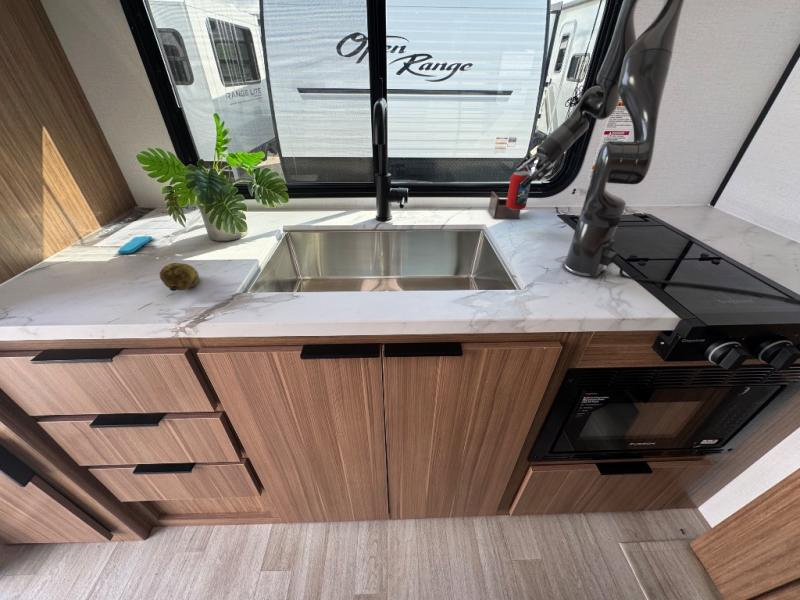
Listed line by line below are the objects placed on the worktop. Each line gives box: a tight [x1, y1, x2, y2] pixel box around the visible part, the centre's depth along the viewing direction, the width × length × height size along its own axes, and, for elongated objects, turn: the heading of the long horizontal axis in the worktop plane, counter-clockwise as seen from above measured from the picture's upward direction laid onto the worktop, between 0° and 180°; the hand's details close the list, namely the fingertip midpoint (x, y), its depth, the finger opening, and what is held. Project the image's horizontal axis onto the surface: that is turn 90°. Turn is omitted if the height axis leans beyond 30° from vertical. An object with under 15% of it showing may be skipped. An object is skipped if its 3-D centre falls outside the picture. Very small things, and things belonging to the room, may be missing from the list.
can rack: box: [488, 191, 521, 220], centre depth 129 cm, size 10×10×8 cm
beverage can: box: [506, 170, 532, 211], centre depth 112 cm, size 7×7×12 cm
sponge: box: [117, 235, 153, 255], centre depth 105 cm, size 2×12×6 cm
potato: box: [159, 262, 200, 292], centre depth 82 cm, size 8×13×8 cm, turn 6°
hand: (516, 183), depth 110 cm, fingers closed on beverage can, 7 cm apart
